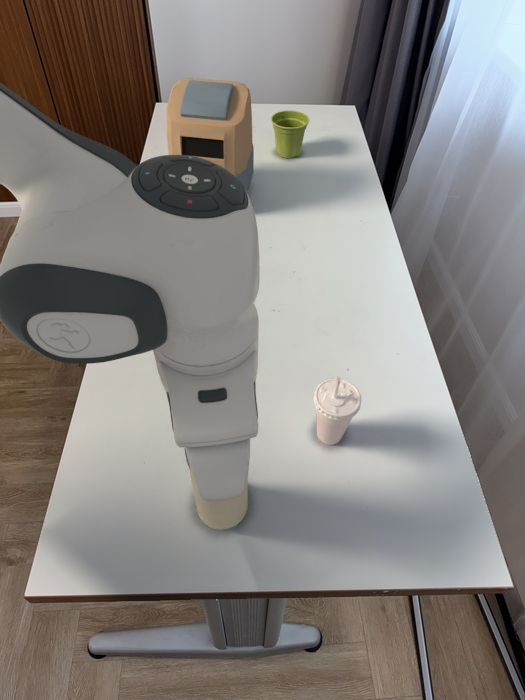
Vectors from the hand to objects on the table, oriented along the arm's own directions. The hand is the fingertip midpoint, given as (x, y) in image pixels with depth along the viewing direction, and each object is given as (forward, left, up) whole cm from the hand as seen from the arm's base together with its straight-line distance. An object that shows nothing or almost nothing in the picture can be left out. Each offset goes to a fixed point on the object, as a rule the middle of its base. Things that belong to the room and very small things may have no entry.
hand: (215, 432), depth 53 cm
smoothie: (+18, -6, -19) cm, 27 cm away
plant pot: (+83, +45, -19) cm, 96 cm away
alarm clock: (+57, +48, -19) cm, 77 cm away
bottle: (0, 0, -19) cm, 19 cm away
